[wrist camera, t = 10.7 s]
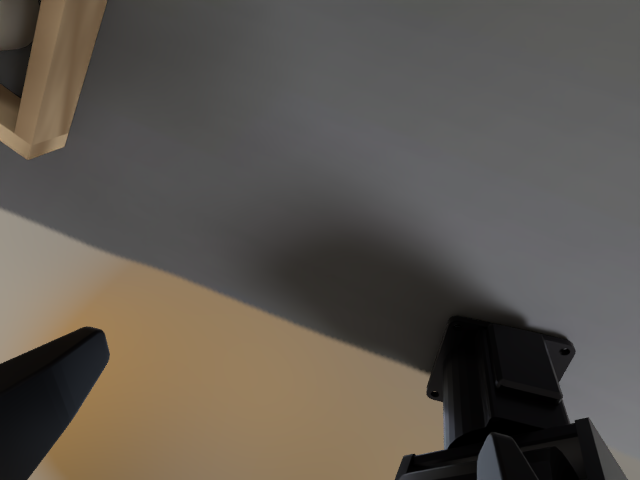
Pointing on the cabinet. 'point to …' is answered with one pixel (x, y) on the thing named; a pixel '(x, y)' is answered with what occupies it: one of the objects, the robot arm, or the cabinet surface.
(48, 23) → the oak holder
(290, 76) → the cabinet surface
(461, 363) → the robot arm
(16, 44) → the paper roll
